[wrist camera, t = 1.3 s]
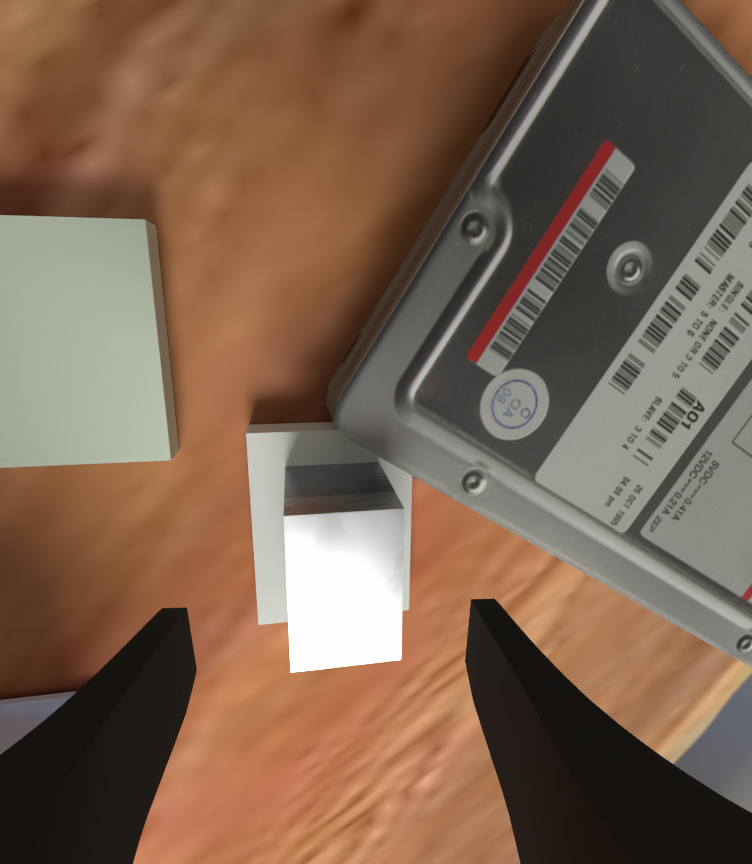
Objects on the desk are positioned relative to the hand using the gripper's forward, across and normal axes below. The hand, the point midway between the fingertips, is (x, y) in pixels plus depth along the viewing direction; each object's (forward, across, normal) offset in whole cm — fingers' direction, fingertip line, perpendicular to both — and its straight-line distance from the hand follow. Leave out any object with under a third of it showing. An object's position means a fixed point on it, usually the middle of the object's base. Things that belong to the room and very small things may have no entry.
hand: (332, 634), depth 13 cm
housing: (+9, 0, +2) cm, 9 cm away
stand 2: (+10, 0, +3) cm, 11 cm away
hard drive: (+14, -15, -3) cm, 21 cm away
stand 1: (+10, +10, -6) cm, 16 cm away
